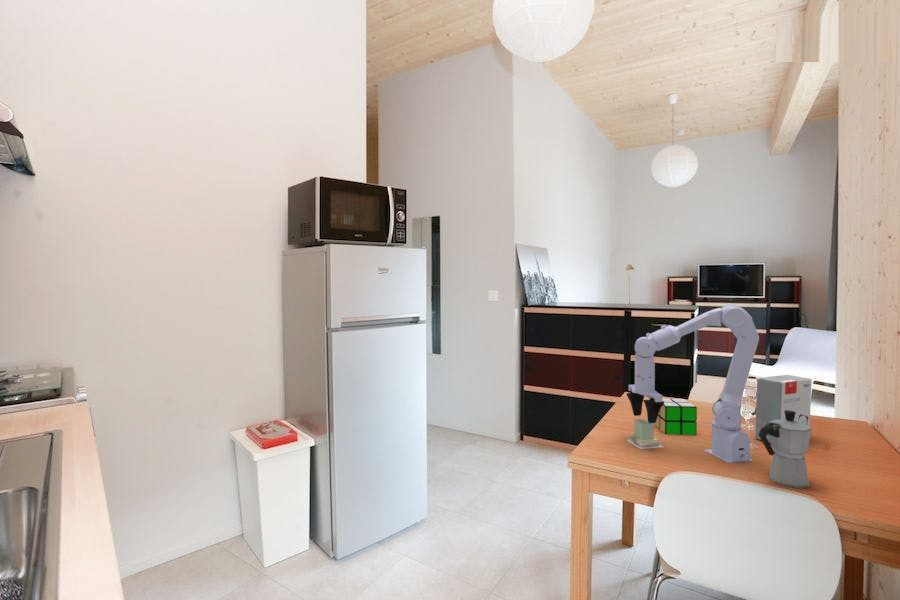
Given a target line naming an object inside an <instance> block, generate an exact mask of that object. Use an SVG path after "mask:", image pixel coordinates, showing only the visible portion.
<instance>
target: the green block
mask: <svg viewBox="0 0 900 600" xmlns="http://www.w3.org/2000/svg"><path fill="white" fill-rule="evenodd" d="M633 421H634V433H633V434H634V435H635V436H636V437H638V438H640V439H642V440H645V439H654V437H655V434H654V433H655V423H649V422H648V418H642V419H640V418H639V419H634V420H633Z"/></svg>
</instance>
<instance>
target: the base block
mask: <svg viewBox="0 0 900 600" xmlns="http://www.w3.org/2000/svg"><path fill="white" fill-rule="evenodd" d="M629 439H630V441H631V442H633V443H635V444H636V445H638V446H639V447H653V446H659V445H660V442H659V441H660V439H658V438H656V437H655V436H654V439H645V440H642V439H640V438H638V437H636V436H635V435H634V433H630V434H629Z"/></svg>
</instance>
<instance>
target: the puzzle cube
mask: <svg viewBox="0 0 900 600" xmlns="http://www.w3.org/2000/svg"><path fill="white" fill-rule="evenodd" d="M662 401H664V404H663V406H662V407H661V409H660V411H659V413H658V417H657V420H656V423H654V426H655V427H656V428H658V429H659V430H660V431H661V432H662V433H663V434H665V435H675V436H677V435H683V436H697V430H698V429H697V428H698V427H697V425H698V423H697V420H698V419H697V418H698V417H697V416H698V407H697V406H696V405H694V404H693V403H691V402H690V401H688V400H686V399H685V398H662Z"/></svg>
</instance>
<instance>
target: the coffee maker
mask: <svg viewBox="0 0 900 600" xmlns="http://www.w3.org/2000/svg"><path fill="white" fill-rule="evenodd" d="M784 412H785V418H786V419H782V420H773V421H770V422H769V423H767V424H766V426H764V427H762V428H761V430H760V433H759V437H760V438H761V440H760V441H761V442H762V444H763V446H764V447H765V450H766V451H767V453H768V454H769V455H770V456H772V458H771V465H770V470H769V473H768V475H769V476H768V479H769V480H770V479H771V481H772V480H773V481H772V482H774V481H775V483H776V482H777V484H778V483H779V485H780V484H782V485H781V486H785V487H790V488H795V489H803V488H810V484H809V483H810V482H809V477H808V476H809V475H808V470H807V463H806V458H805V454H806V453H808V451H809V446H810V442H811V441H810V440H811V435H812V430H813V428H812V425H811V424H810V425H806V424H803V423H800V422H797V421H794V418H795V414H796V412H794V411H790V410H785V411H784ZM767 434H768V435H771V443H772V444H771V443H769V441H768V440H767V438H766V436H767ZM773 448H774V449H773Z"/></svg>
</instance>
